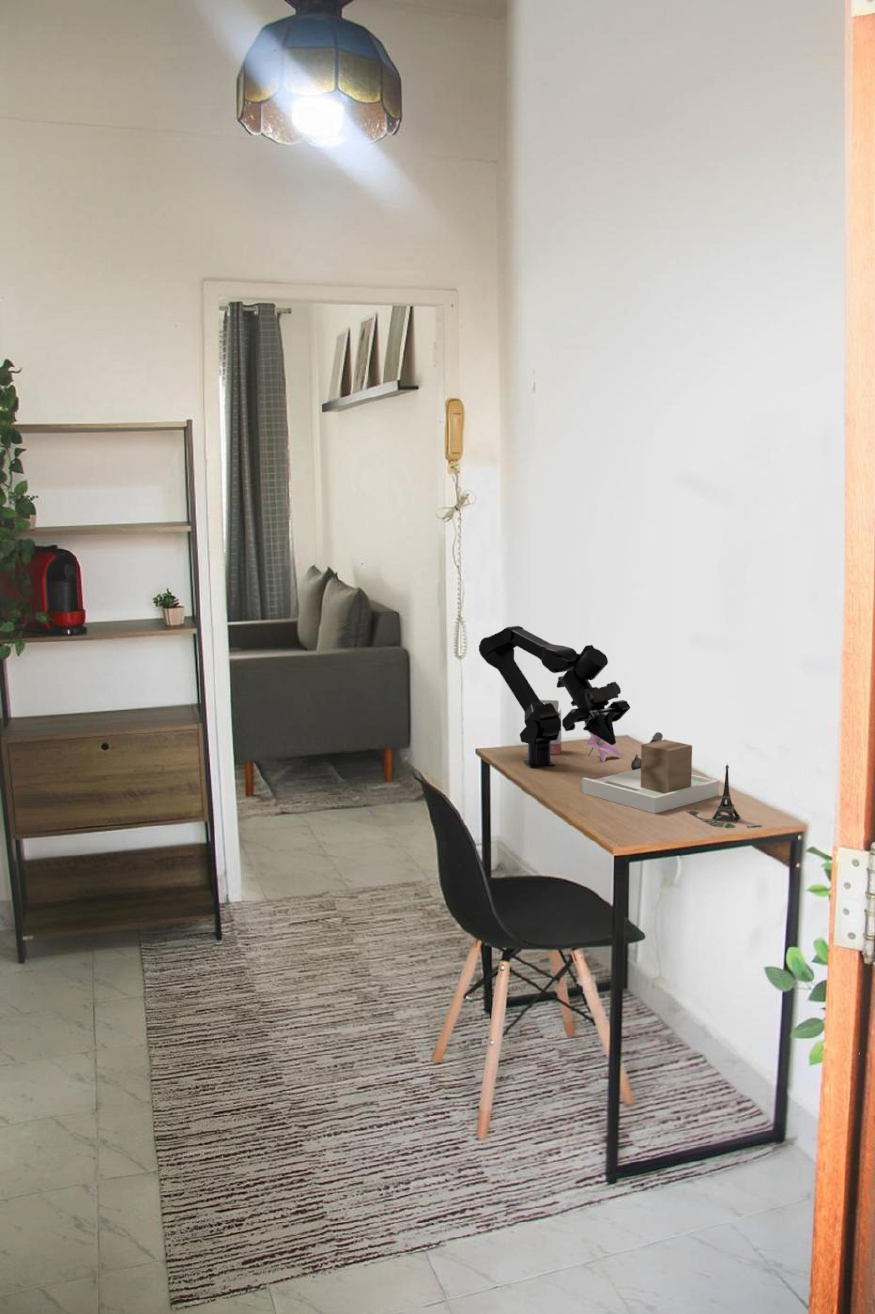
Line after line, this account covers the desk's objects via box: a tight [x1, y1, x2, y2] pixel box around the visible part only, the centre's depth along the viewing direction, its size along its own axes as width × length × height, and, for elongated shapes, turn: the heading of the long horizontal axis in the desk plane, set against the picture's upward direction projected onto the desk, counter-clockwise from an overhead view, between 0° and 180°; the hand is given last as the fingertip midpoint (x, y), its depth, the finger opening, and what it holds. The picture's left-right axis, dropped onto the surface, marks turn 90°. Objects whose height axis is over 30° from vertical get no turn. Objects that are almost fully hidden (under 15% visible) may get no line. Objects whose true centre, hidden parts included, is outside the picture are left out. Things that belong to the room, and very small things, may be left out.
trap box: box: [581, 767, 720, 815], centre depth 255 cm, size 22×22×4 cm
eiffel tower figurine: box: [685, 764, 762, 829], centre depth 235 cm, size 15×10×13 cm
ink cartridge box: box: [539, 699, 562, 755], centre depth 297 cm, size 9×5×15 cm, turn 76°
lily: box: [584, 724, 623, 763], centre depth 290 cm, size 12×12×10 cm
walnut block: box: [640, 739, 693, 794], centre depth 250 cm, size 8×8×10 cm
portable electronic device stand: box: [630, 731, 663, 771], centre depth 279 cm, size 9×8×8 cm
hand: (613, 744), depth 262 cm, fingers closed
